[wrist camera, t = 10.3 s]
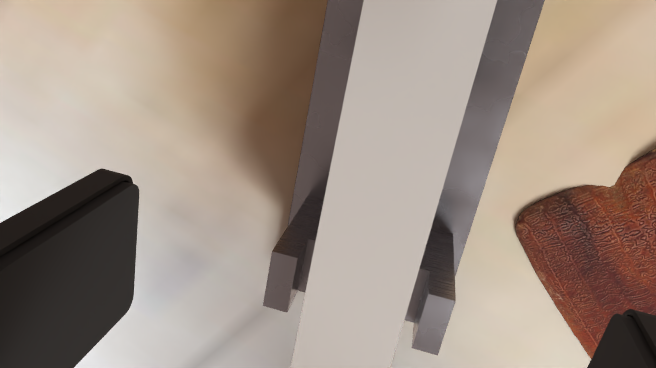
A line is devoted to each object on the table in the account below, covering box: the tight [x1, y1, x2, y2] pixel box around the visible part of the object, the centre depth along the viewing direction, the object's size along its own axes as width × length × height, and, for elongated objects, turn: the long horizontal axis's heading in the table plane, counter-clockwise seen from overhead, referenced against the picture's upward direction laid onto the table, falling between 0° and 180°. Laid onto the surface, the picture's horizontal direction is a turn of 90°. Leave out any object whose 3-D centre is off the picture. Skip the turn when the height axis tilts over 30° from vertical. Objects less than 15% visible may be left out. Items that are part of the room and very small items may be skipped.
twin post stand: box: [263, 0, 545, 355], centre depth 25 cm, size 10×25×8 cm, turn 169°
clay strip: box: [290, 0, 497, 368], centre depth 21 cm, size 4×22×5 cm, turn 170°
